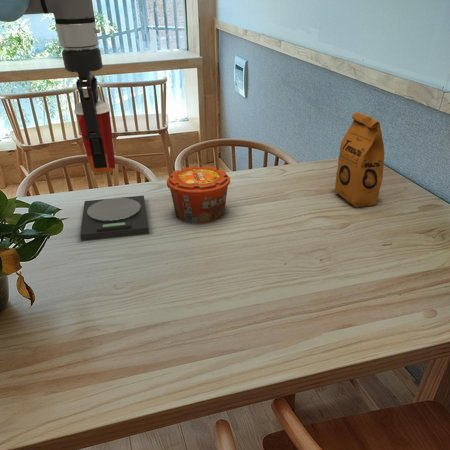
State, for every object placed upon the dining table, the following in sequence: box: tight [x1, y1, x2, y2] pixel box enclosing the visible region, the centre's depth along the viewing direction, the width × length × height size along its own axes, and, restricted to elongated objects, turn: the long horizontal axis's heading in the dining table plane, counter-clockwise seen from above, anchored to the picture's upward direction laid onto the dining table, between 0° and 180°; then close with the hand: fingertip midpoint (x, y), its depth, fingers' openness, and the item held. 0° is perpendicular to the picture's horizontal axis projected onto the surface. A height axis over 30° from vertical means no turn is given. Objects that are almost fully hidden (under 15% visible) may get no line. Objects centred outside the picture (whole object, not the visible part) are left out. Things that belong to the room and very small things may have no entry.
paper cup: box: [73, 99, 116, 173], centre depth 100 cm, size 8×8×14 cm
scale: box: [79, 195, 150, 242], centre depth 115 cm, size 16×20×3 cm
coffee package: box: [334, 111, 385, 208], centre depth 119 cm, size 10×12×22 cm
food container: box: [166, 165, 231, 224], centre depth 115 cm, size 16×16×11 cm
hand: (101, 161), depth 103 cm, fingers closed on paper cup, 7 cm apart
